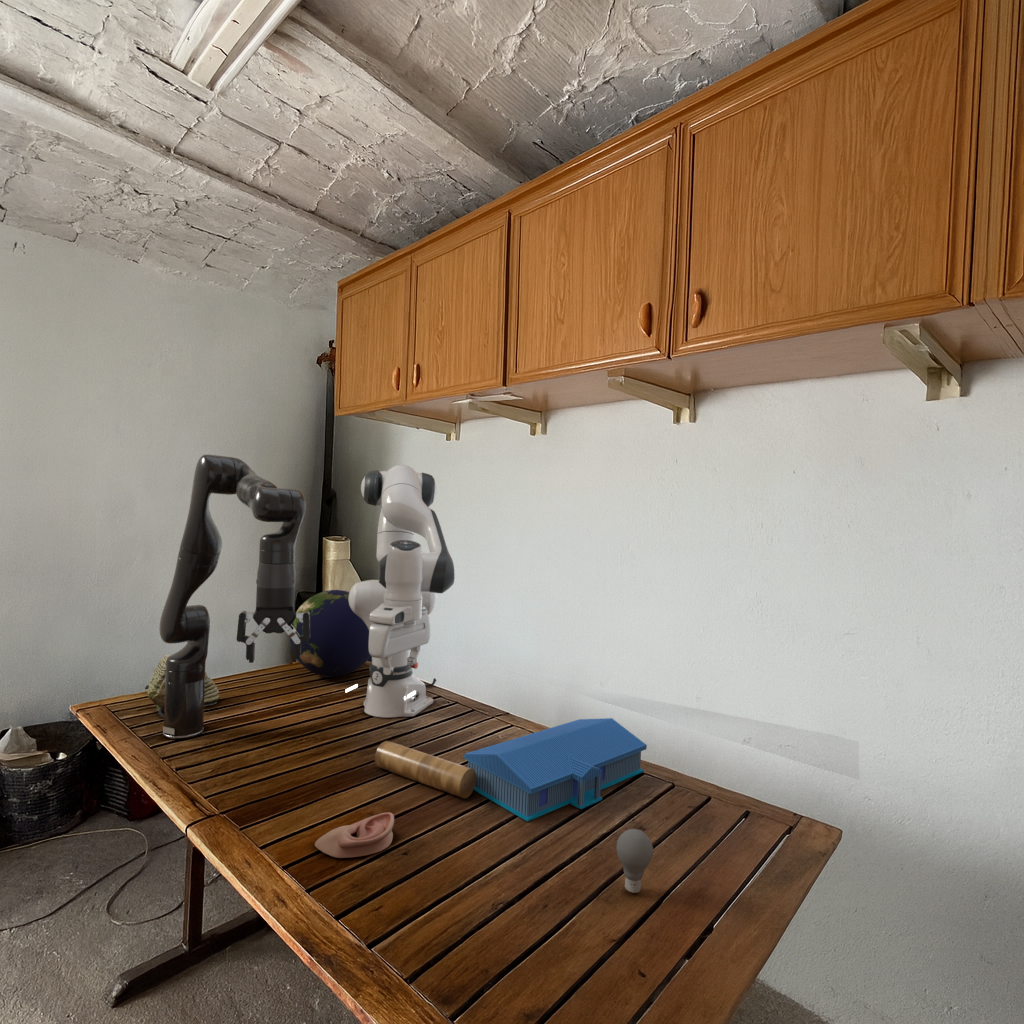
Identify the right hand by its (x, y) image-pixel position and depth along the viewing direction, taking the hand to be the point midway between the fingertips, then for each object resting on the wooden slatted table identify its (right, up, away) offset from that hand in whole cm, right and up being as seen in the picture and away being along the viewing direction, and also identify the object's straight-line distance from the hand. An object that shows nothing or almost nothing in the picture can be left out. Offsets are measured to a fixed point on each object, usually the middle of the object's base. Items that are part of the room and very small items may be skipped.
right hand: (400, 669), depth 148 cm
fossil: (-70, -20, +37) cm, 82 cm away
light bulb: (+46, -27, -42) cm, 68 cm away
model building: (+38, -25, -1) cm, 45 cm away
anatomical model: (-3, -24, -31) cm, 40 cm away
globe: (-37, -21, +74) cm, 85 cm away
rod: (+7, -24, -4) cm, 25 cm away
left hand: (-24, +6, -16) cm, 29 cm away
